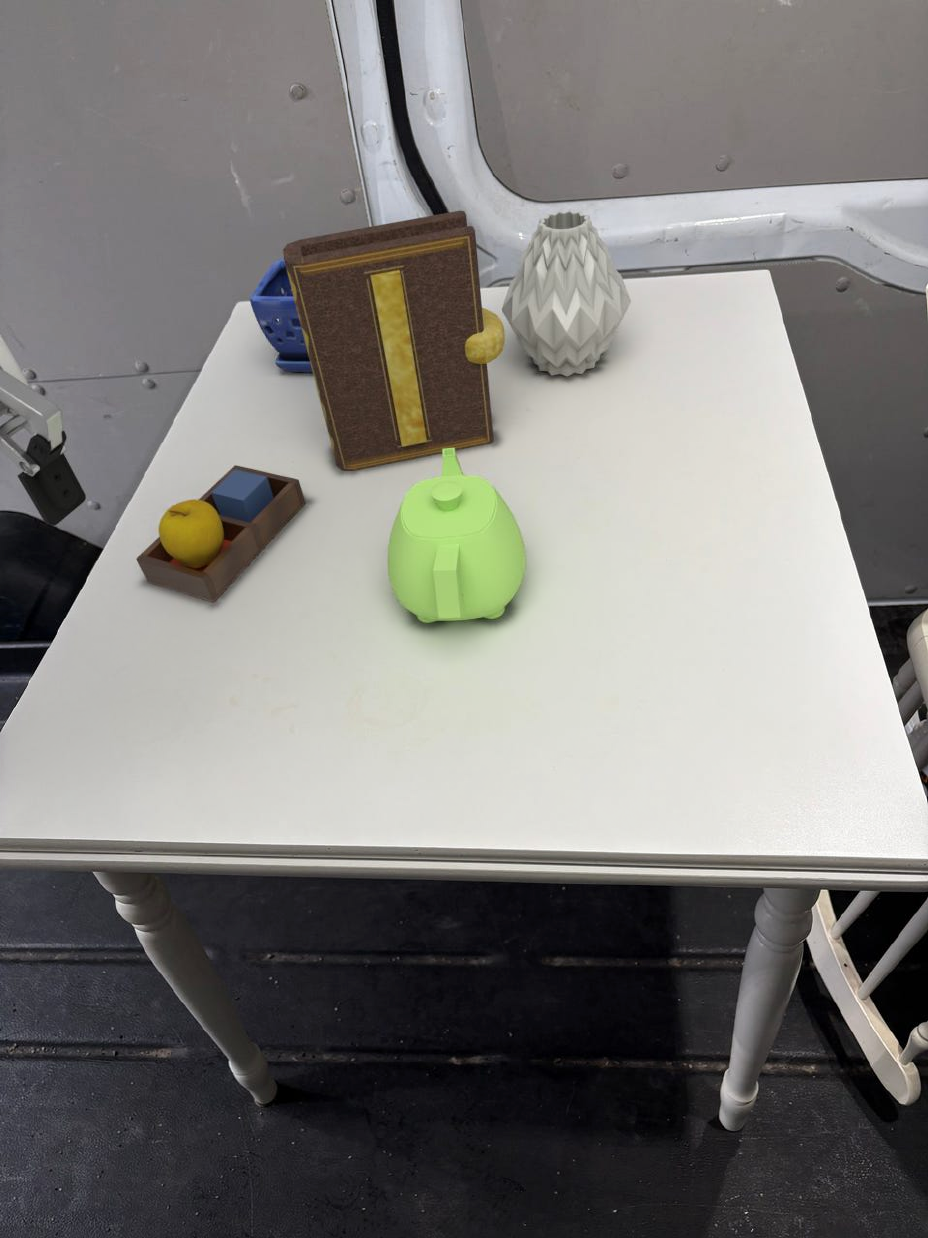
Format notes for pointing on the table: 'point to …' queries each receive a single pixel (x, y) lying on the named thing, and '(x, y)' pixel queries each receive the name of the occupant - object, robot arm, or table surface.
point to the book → (397, 338)
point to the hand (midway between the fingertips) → (15, 497)
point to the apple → (192, 533)
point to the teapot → (455, 548)
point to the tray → (226, 543)
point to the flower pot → (280, 319)
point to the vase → (566, 295)
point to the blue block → (242, 495)
